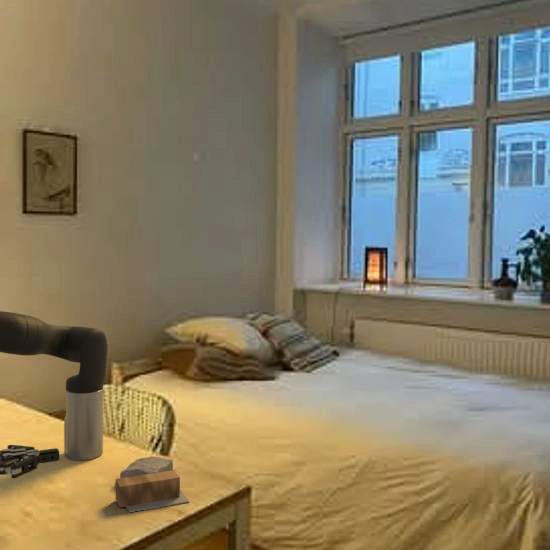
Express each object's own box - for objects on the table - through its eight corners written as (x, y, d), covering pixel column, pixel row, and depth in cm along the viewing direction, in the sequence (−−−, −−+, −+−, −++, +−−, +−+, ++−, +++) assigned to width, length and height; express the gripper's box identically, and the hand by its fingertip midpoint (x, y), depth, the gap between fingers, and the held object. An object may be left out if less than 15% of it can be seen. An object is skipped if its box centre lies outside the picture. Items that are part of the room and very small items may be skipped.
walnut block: (120, 486, 133) (179, 477, 139) (115, 479, 137) (173, 470, 143) (120, 507, 134) (179, 497, 139) (115, 499, 138) (173, 489, 144)
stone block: (117, 493, 145) (158, 488, 143) (114, 472, 145) (154, 467, 143) (139, 476, 157) (177, 471, 155) (136, 457, 157) (173, 452, 155)
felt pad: (129, 513, 132) (129, 511, 132) (118, 494, 141) (118, 493, 141) (189, 502, 138) (189, 501, 138) (175, 485, 147) (175, 484, 147)
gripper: (-36, 460, 116) (63, 447, 124) (-37, 437, 128) (54, 426, 135) (-35, 500, 117) (63, 484, 124) (-35, 473, 128) (55, 460, 136)
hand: (58, 454), depth 130 cm, fingers closed
